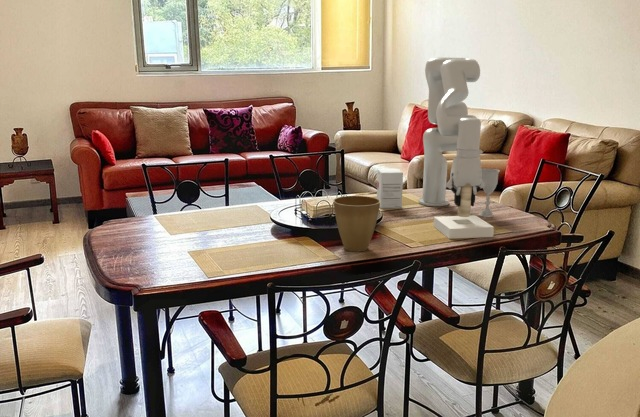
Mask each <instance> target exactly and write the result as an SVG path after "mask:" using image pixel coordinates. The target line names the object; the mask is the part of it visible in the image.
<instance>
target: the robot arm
mask: <svg viewBox="0 0 640 417" xmlns="http://www.w3.org/2000/svg"><path fill="white" fill-rule="evenodd" d="M424 67H425V68H424V72H425V79H426V83H427V86H428V107H427V120H428V122H429V123H430V124H432V125H437V127H432V128H428V129H426V130H425V131H424V133H423V136H422V142H423V152H424V154H423V157H424V158H423V176H422V177H423V179H422V181H423V183H422V197H421V198H418V203H419V204H420V205H422V206H428V207H445V206H448V205H449V203H450V202H449V200H448V199H447V198H446V196H447V195H446V194H447V191H446V190H447V188H448V189H449V190H450V191H451V192H452V193H453V194H454V199H453V203H454V206H455V205H456V207H458V206H460V201H461V196H460V190H461V187H463V186H465V185H466V183H470V185H471V186H472V195H471V207H474V206H475V203H476V195H478V192H480V191H481V189H483V187H484V186H485V183H484V181H483V180H482V178H481V177H482V170H481V169H482V162H481V161H482V159H481V157H480V155H482V154H483V153H484V151H483V150H481V149H480V143H481V140H480V139H481V128H482V122H481V119H480V118H478V117H476V116H475V115H470V114H469V111H468V105H466V103H465V102H464V101H465V100H467V98H468V96H469V89H468V88H469V87H468V83H476V82H477V81H478V80H479V79H480V76H481V66H480V64H479V63H478V61H477V60H476V59H473V58H469V57H432V58H430V59H428V60H427V61H426V64H425V66H424ZM443 152H456V156H454V157H453V159H452V163H451V168H450V169H451V170H450V176H449V180H448V181H447V178H448V161H447V158H446V156H444V154H443Z"/></svg>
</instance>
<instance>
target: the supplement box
mask: <svg viewBox="0 0 640 417" xmlns="http://www.w3.org/2000/svg"><path fill="white" fill-rule="evenodd" d="M376 180H377V181H376V198H377V199H379V200H380V207H379V209H402V207H403V206H402V205H403V202H402V201H403V186H404V184H403V182H404V172H402V170H400V169H399V168H377V179H376Z"/></svg>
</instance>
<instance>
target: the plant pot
mask: <svg viewBox="0 0 640 417" xmlns="http://www.w3.org/2000/svg"><path fill="white" fill-rule="evenodd" d="M333 208H334V209H333V210H334V214H335V220H336V224H337V229H338V233H339V236H340V239H341V242H342V245H343V247H344V250H346V251H349V252H365V251H367V250H368V248H369V245H370V243H371V240H372V238H373V235H374V232H375V228H376V225H377V221H378V218H379V217H378V216H379V211H380V200H379V199H377V197H372V196H365V195H343V196H339V197H336V198H333Z"/></svg>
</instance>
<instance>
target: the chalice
mask: <svg viewBox="0 0 640 417" xmlns="http://www.w3.org/2000/svg"><path fill="white" fill-rule="evenodd" d="M481 170H482V177H481V178H482V180H483V181H484V183H485V186H484V187H483V188H482V190H483V192H484V194H486V197H485V200H486V202H485V208H484V209H482V211H481V212H480V213H479V216H480V217H484V218H492V217H494V214H493V210H491V209H490V208H489V205H491V203H490V200H491V198H490V195H492V194H493V193H494V191H495V190H496V188H497V185H498V182H499V181H498V180H499V173H500V171H501V170H500V169H498V168H486V167H485V168H481Z"/></svg>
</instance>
